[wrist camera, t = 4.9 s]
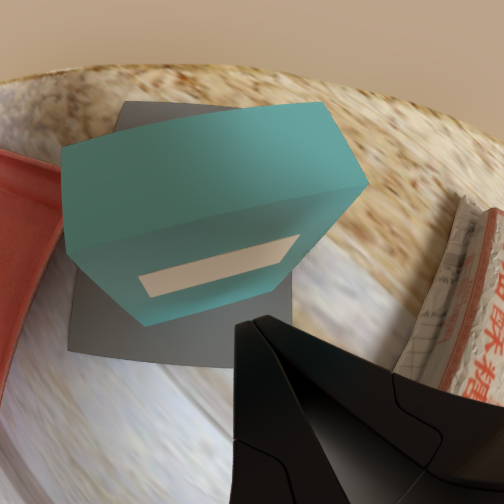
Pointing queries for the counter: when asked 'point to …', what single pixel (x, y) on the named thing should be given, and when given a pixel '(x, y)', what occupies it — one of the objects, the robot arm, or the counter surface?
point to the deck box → (204, 205)
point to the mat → (177, 330)
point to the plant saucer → (24, 241)
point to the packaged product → (463, 313)
